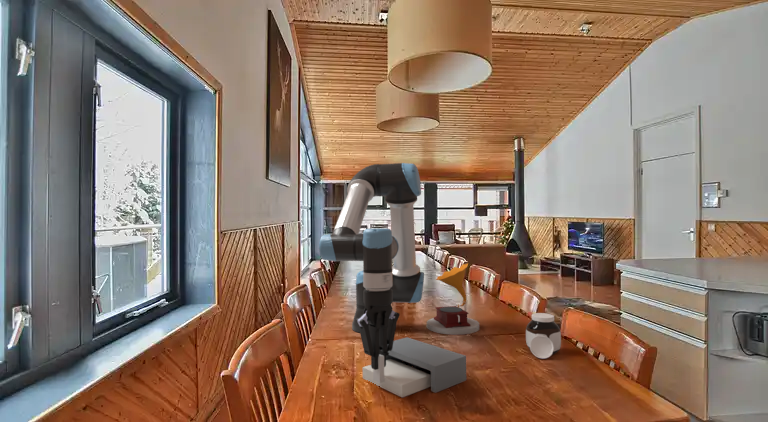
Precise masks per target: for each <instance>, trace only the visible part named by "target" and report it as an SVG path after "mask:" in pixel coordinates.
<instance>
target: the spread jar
mask: <svg viewBox="0 0 768 422" xmlns="http://www.w3.org/2000/svg"><path fill="white" fill-rule="evenodd" d="M525 341H526V343H525V344H526V345H527V347H528V349H529V350H530V353H532V355H534V356H535V357H536V358H538V359H543V360H544V359H548V358H550V357H551V356H552V355H553V356H554V355H555V354H557V353H558V352H559V351H560V349H561V346H562V333H561V329H560V327H559V326H558V324H557V323H556V322H555V315H554V314H551V313H546V312H545V313H544V312H536V313H532V314H531V320H530V321H529V322H528V323H527V325H526V328H525Z"/></svg>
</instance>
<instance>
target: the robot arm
mask: <svg viewBox="0 0 768 422" xmlns="http://www.w3.org/2000/svg"><path fill="white" fill-rule="evenodd" d="M419 173H420V172H419V169H418V167H417V165H415V164H414V163H409V162H398V163H380V164H379V163H376V164H371V165H368V166H365V167H364V168H362V169H360V170H359V171H357V173H356V174H355V175H353V177H352V178H351V179H350V181H349V182H348V185H347V188H346V192H347V193H346V194H347V195H346V198H345V200H344V203H343V205H342V208H341V211H340V213H339V215H338V218H337V221H336V223H335V226H334V228H333V231H332V233H331V234H330V233H328V234H323V235H322V236H320V239H319V243H318V251H319V252H318V253H319V255H320V257H321V260H323V261H330V262H331V261H332V262H362V263H363V267H362V268H363V269H362V270H360V271H359V272H357V273H356V278H355V280H356V281H355V291H356V293H355V296H356V298H355V300H356V301H355V302H356V309H355V312H354V316H353V321H351V322H352V323H351V329H352V330H353V331H354V332H355V333H359V334H360V338H361V343H362V347H363V352H364V354H366V355H367V356H370V357H371V358H370V361H371V364H370V365H371V367H372V369H373V380H375V381H377V382H379V383H381V382H384V367H385V366H386V356H388V355H389V353H388V351H391V350H392V348H393V342H394V341H395V334H396V329H397V324H398V320H399V318H400V315H401V314H400V313H399V312H397V311H395V310H393V307H392V304H393V303H401V304H402V303H408V304H412V303H413V304H414V303H420V302H421V300H422V298H423V288H424V284H425V283H424V281H425V272H423V271H421V267H420V266H419V265H418V264H417V259H416V256H417V255H416V238H415V237H416V236H415V234H416V233H415V212H414V204H415V203H417V201H418V197H420V196H421V195H422V187H421V186H422V185H421V177H420V174H419ZM375 197H385V198H384V199H385V201H384V202H385V204H387V205H388V206H389V212H390V213H389V215H390V228H384V227H380V228H379V227H378V228H377V227H376V228H375V227H374V228H371V227H370V228H365V229H364V230H363V234H359V233H360V230H361V227H362V224H363V220H364V218H365V216H366V215H365V214H366V211H367V208H368V205H369V202H370V201H372V200H373V199H374V198H375Z"/></svg>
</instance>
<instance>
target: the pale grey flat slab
mask: <svg viewBox="0 0 768 422" xmlns="http://www.w3.org/2000/svg"><path fill="white" fill-rule="evenodd" d="M362 379H363V380H366V381H367V380H368V381H367V382H369V381H370V382H369V383H371V382H372V384H373V383H374V384H373V385H375V384H376V385H375V386H378V387H379V386H380V388H382V389H384V390H385V391H388V392H390V393H391V394H394V395H396V396H398V397H401V398H405V397H408V396H410V395H412V394H415V393H418V392H420V391H423V390H425V389H428V388H431V373H430V374H429V373H427V372H425V371H422V370H419V369H418V368H414V367H411V366H409V365H406V364H405V363H403V362H402V363H400V362H397V361H395V360H392V359H388V360H386V366H385V367H384V382H381V383H379V382H377V381H375V380H373V369H372V367H371V364H369V365H365V366H362Z"/></svg>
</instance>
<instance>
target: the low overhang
mask: <svg viewBox="0 0 768 422" xmlns="http://www.w3.org/2000/svg"><path fill="white" fill-rule="evenodd" d="M388 353H389V355H388V356H386V360H388V359H392V360H395V361H397V362H400V363H402V364H403V363H404V362H406V363H408V366H410V367H412V368H415V369H419V368H422V369H424V370H427V371H430V375H431V387H430V391H431V392H433V393H435V394H436V393H439V392H441V391H444V390H447V389H448V388H451V387H453V386H455V385H459V384H460V383H463V382H465V381H467V355H465V354H461V353H459V352H455V351H452V350H449V349H446V348H443V347H440V346H436V345H433V344H430V343H426V342H423V341H420V340H418V339H414V338H411V337H402V338H399V339H394V342H393V348H392V350H391V351H388Z"/></svg>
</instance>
